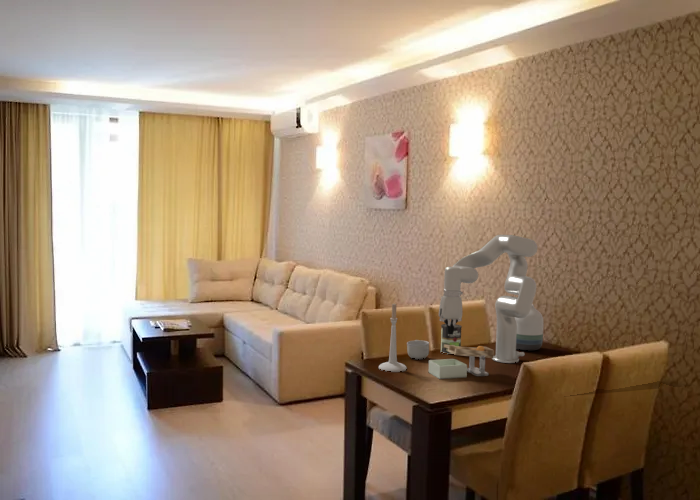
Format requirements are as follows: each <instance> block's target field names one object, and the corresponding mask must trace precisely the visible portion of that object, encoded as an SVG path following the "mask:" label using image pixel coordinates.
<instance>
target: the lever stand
mask: <svg viewBox="0 0 700 500" xmlns="http://www.w3.org/2000/svg"><path fill="white" fill-rule="evenodd" d="M468 357H469V360H468V362H469V363H468V367H467V373H469V374H471V375H473V376H475V377H485V376H486V377H487V376H488V377H489V376H490V375H489V372H488V371H486V370H485V369H486V357H485V355H480V357H479V367H476V366H475V364H476V363H475V361H476V358H475V357H474V356H468Z"/></svg>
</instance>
